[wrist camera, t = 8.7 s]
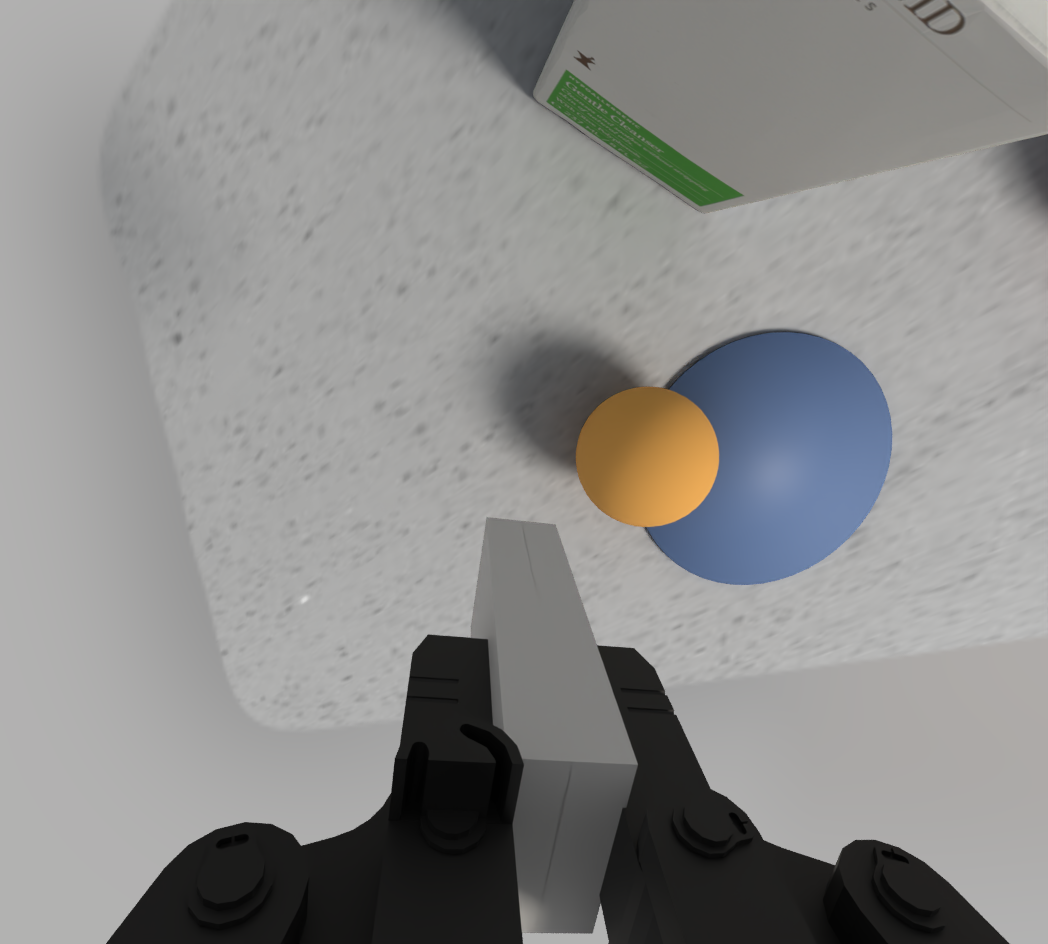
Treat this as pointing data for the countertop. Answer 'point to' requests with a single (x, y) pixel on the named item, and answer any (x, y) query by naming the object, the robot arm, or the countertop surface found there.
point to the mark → (781, 457)
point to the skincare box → (796, 87)
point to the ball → (647, 456)
